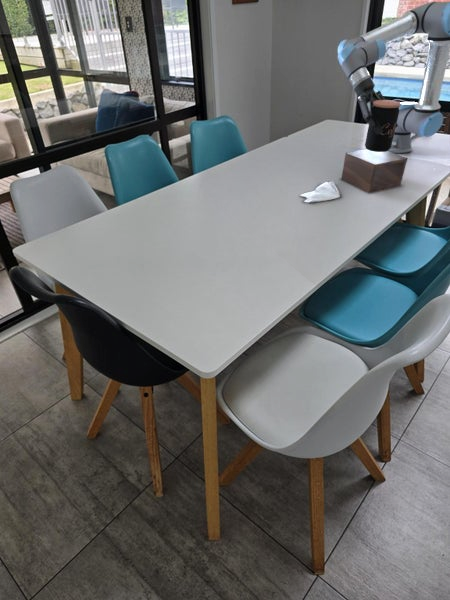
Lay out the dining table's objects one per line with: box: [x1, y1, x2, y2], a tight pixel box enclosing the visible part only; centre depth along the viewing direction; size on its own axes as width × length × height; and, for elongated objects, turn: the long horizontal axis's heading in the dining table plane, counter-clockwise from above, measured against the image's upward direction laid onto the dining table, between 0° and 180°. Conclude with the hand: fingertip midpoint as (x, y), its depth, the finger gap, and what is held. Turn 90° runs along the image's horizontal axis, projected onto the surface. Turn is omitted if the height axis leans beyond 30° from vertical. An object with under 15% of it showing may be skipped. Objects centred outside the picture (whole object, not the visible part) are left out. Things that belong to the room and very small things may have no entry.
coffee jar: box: [364, 99, 402, 152], centre depth 169 cm, size 11×11×18 cm
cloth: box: [299, 180, 341, 204], centre depth 173 cm, size 26×14×2 cm, turn 136°
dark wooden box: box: [340, 148, 408, 194], centre depth 180 cm, size 18×18×12 cm
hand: (387, 130), depth 168 cm, fingers closed on coffee jar, 11 cm apart
